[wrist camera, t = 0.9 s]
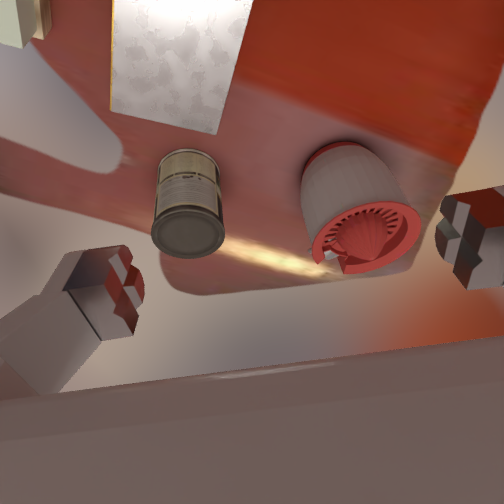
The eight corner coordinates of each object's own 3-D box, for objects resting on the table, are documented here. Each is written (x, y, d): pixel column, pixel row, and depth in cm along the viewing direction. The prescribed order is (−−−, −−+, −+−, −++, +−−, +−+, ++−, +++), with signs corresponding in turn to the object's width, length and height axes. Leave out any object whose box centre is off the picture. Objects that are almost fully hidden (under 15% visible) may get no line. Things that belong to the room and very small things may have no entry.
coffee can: (231, 181, 61) (237, 243, 52) (182, 205, 64) (180, 267, 55) (197, 136, 53) (198, 198, 44) (144, 165, 56) (134, 229, 47)
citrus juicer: (267, 190, 63) (286, 281, 50) (335, 111, 52) (379, 202, 40) (329, 218, 70) (359, 304, 58) (399, 155, 60) (454, 243, 47)
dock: (122, -236, 27) (117, -240, 26) (287, -150, 32) (293, -149, 30) (113, 99, 47) (109, 110, 46) (215, 123, 52) (216, 135, 50)
